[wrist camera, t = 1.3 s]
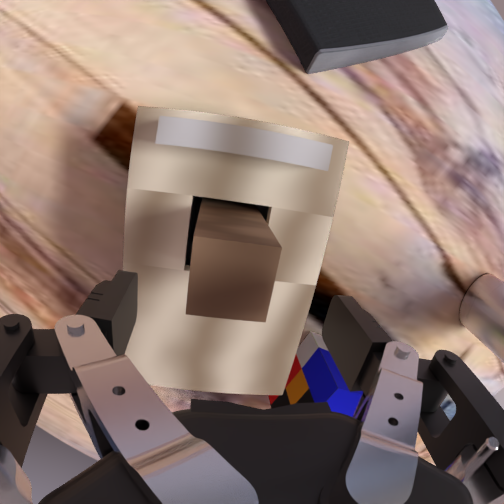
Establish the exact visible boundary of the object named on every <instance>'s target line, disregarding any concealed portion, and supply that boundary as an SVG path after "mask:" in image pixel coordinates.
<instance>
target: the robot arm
mask: <svg viewBox="0 0 504 504" xmlns="http://www.w3.org/2000/svg"><path fill="white" fill-rule="evenodd" d="M137 308H138V274H137V273H136V272H129V271H122V270H119V271H118V272H117V274H116V275H115V277H114V278H113V280H112V281H106V280H105V281H103V282H101V283H99V284H98V285H96V286H95V288H94V289H93V290H92V292H91V293H90V295H89V296H88V298H87V299H86V300H85V302H84V303H83V305H82V306H81V308H80V309H79V311H78V312H77V314H76V315H69V316H66V317H63V318H61V319H60V320H59V321H58V322H57V323H56V324H55V329H32V324H31V321H30V319H29V318H28V317H26V316H24V315H20V314H10V315H6V316H3V317H1V318H0V504H33V503H32V498H31V491H32V488H31V483H30V480H29V478H28V477H27V475H26V474H25V472H24V471H23V470H22V465H23V461H24V458H25V455H26V452H27V449H28V446H29V443H30V440H31V436H32V434H33V431H34V428H35V425H36V423H37V420H38V417H39V415H40V412H41V409H42V407H43V404H44V402H45V399H46V397H47V394H64V393H69V394H70V397H71V399H72V401H73V403H74V406H75V408H76V410H77V412H78V414H79V416H80V418H81V420H82V422H83V424H84V426H85V428H86V430H87V432H88V434H89V436H90V438H91V440H92V442H93V445H94V447H95V449H96V451H97V453H98V455H99V457H100V460H99V461H98V462H96V463H95V464H93V465H92V466H91V467H89V468H87V469H86V470H84V471H83V472H81V473H80V474H78V475H77V476H75V477H74V478H72V479H71V480H70V481H68V482H67V483H65V484H63V485H62V486H60V487H59V488H57V489H55V490H54V491H52V492H51V493H49V494H48V495H46V496H45V497H44V498H43V499H42V500H41V501H40V502H39V503H38V504H502V503H503V502H504V410H503V409H502V407H501V406H500V405H499V403H498V402H497V401H496V400H495V399H494V397H493V396H492V395H491V394H490V392H489V391H488V390H487V389H486V388H485V386H484V385H483V384H482V383H481V382H480V380H479V379H478V378H477V377H476V376H475V375H474V373H473V372H472V371H471V370H470V369H469V368H468V366H467V365H466V364H465V363H464V362H463V361H462V360H461V358H460V357H458V356H457V355H456V354H454V353H452V352H450V351H446V350H438V351H437V352H436V353H435V355H434V357H433V359H432V360H426V359H420V358H419V355H418V353H417V352H416V350H415V349H414V348H412V347H411V346H409V345H407V344H405V343H402V342H398V341H392V340H391V339H390V337H389V336H388V335H387V334H386V333H385V331H384V330H383V329H382V328H380V325H379V324H378V323H377V322H376V320H375V319H374V318H373V317H372V316H371V314H369V313H368V312H366V311H365V310H364V309H362V308H361V307H360V305H359V304H358V303H357V302H356V301H355V299H354V298H353V297H352V296H341V295H335V296H334V297H333V298H332V300H331V303H330V306H329V309H328V313H327V316H326V319H325V322H324V325H323V329H322V338H323V341H324V343H325V345H326V347H327V349H328V350H329V352H330V354H331V356H332V358H333V360H334V362H335V364H336V366H337V368H338V370H339V371H340V373H341V375H342V377H343V379H344V381H345V383H346V385H347V387H348V389H349V391H350V392H352V391H363V394H362V396H361V397H360V399H359V402H358V404H357V407H356V409H355V412H354V414H353V416H352V417H351V416H348V415H345V414H342V413H338V412H333V411H331V409H330V407H329V404H328V402H316V403H295V404H291V405H286V406H282V407H277V408H272V409H266V410H262V409H257V408H252V407H247V406H243V405H238V404H234V403H230V402H222V401H208V400H196V399H191V407H190V409H187V410H180V411H175V412H171V411H170V410H169V409H168V408H167V406H166V405H165V404H164V403H163V402H162V400H161V399H160V398H159V397H158V396H157V394H156V393H155V392H154V391H153V389H152V388H151V387H150V385H149V384H148V383H147V382H146V380H145V379H144V378H143V376H142V375H141V374H140V372H139V371H138V370H137V368H136V367H135V366H134V364H133V363H132V362H131V360H130V359H129V358H128V356H127V355H125V351H126V348H127V345H128V342H129V340H130V337H131V334H132V331H133V328H134V326H135V323H136V318H137ZM459 317H460V321H461V323H462V324H463V325H464V326H465V327H466V328H467V329H468V330H469V331H470V332H471V333H472V334H474V335H475V336H476V337H477V338H478V339H479V340H480V341H481V342H482V343H483V344H484V345H485V346H486V347H488V348H489V349H490V350H491V351H492V352H493V353H494V354H495V355H496V356H497V357H498V358H499V359H500V360H501V361H502V362H503V363H504V282H503V281H501V280H500V279H498V278H497V277H495V276H493V275H492V274H485V275H483V276H481V277H479V278H478V279H477V280H476V281H475V282H474V283H473V284H472V285H471V287H470V288H469V289H468V291H467V293H466V294H465V296H464V299H463V301H462V304H461V307H460V315H459ZM447 394H449V395H450V397H451V398H452V399H453V401H454V402H455V404H456V414H455V416H454V417H453V419H452V420H451V421H450V420H449V419H448V417H447V416H446V414H445V413H444V411H443V410H442V408H441V407H440V405H441V403H442V402H443V400H444V399H445V397H446V396H447ZM417 432H418V433H419V435H420V437H421V438H422V440H423V442H424V444H425V446H426V448H427V449H428V451H429V453H430V455H431V457H432V459H433V461H434V463H435V465H436V466H437V467H436V466H435V465H433V464H431V463H429V462H427V461H426V460H424V459H422V458H420V457H419V456H418V452H416V451H415V444H416V438H417Z"/></svg>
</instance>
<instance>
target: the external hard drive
mask: <svg viewBox="0 0 504 504" xmlns="http://www.w3.org/2000/svg"><path fill="white" fill-rule="evenodd" d="M266 1H267V3H268V4H269V6H270V8H271V9H272V11H273V13H274V14H275V16H276V18H277V20H278V21H279V23H280V25H281V26H282V28H283V30H284V32H285V33H286V35H287V37H288V39H289V41H290V42H291V45H292V46H293V48H294V50H295V52H296V54H297V56H298V57H299V59H300V61H301V64H302V65H303V67H304V69H305V71H306V73H307V74H311V73H317V72H322V71H327V70H332V69H337V68H342V67H346V66H351V65H355V64H360V63H364V62H368V61H373V60H377V59H382V58H385V57H389V56H393V55H397V54H400V53H404V52H407V51H411V50H414V49H417V48H420V47H423V46H426V45H429V44H432V43H434V42H437V41H439V40H441V39H442V37H443V36H444V35H445V33H446V31H447V29H448V26H447V23H446V21H445V20H444V17H443V16H442V14H441V12H440V10H439V8H438V6H437V4H436V2H435V1H434V0H266Z"/></svg>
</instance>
